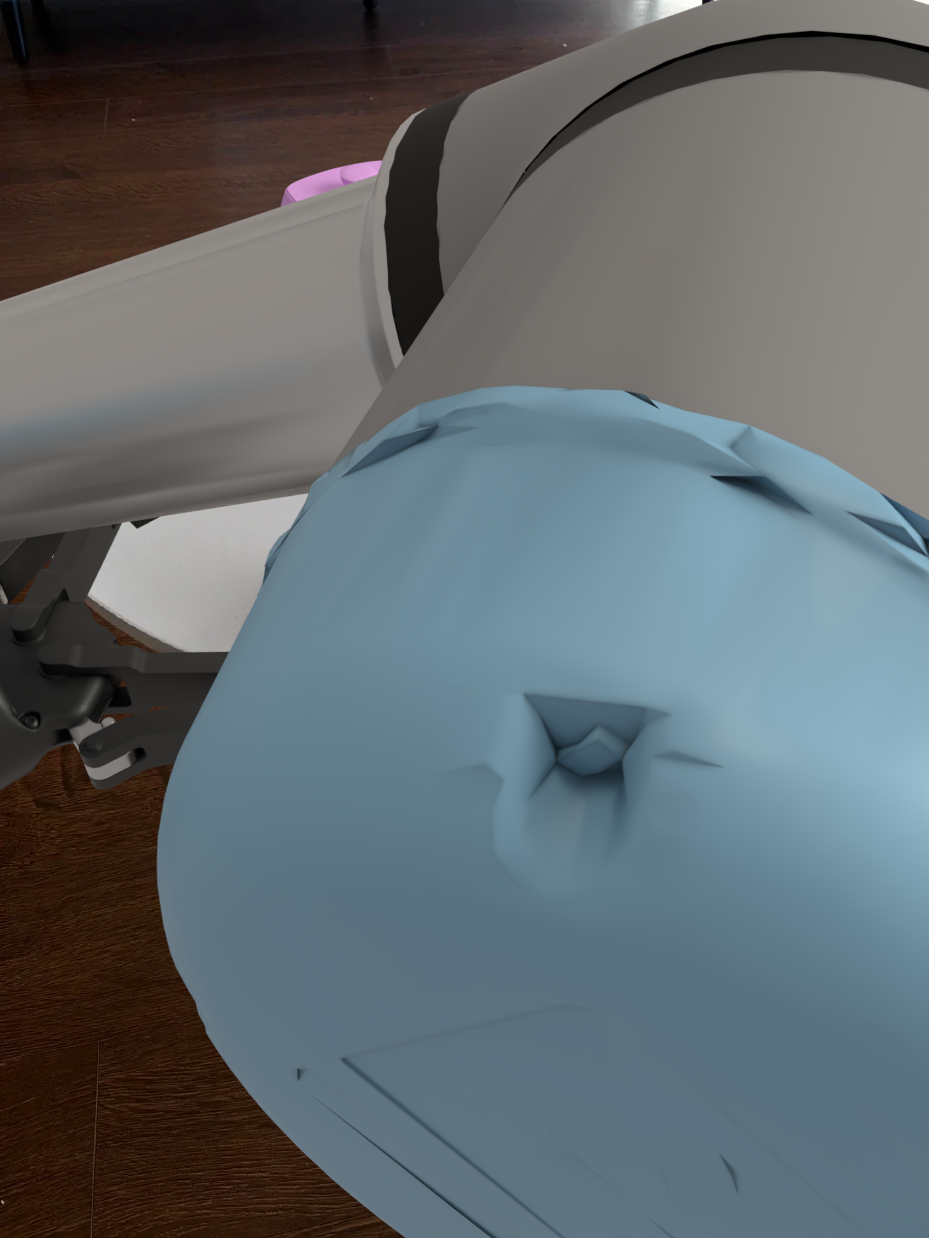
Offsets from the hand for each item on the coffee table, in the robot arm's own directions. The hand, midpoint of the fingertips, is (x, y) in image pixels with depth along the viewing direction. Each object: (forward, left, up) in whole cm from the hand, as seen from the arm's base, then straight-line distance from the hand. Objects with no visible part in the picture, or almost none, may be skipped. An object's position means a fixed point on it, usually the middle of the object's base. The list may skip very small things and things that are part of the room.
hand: (308, 517), depth 57 cm
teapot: (+31, -29, -15) cm, 45 cm away
